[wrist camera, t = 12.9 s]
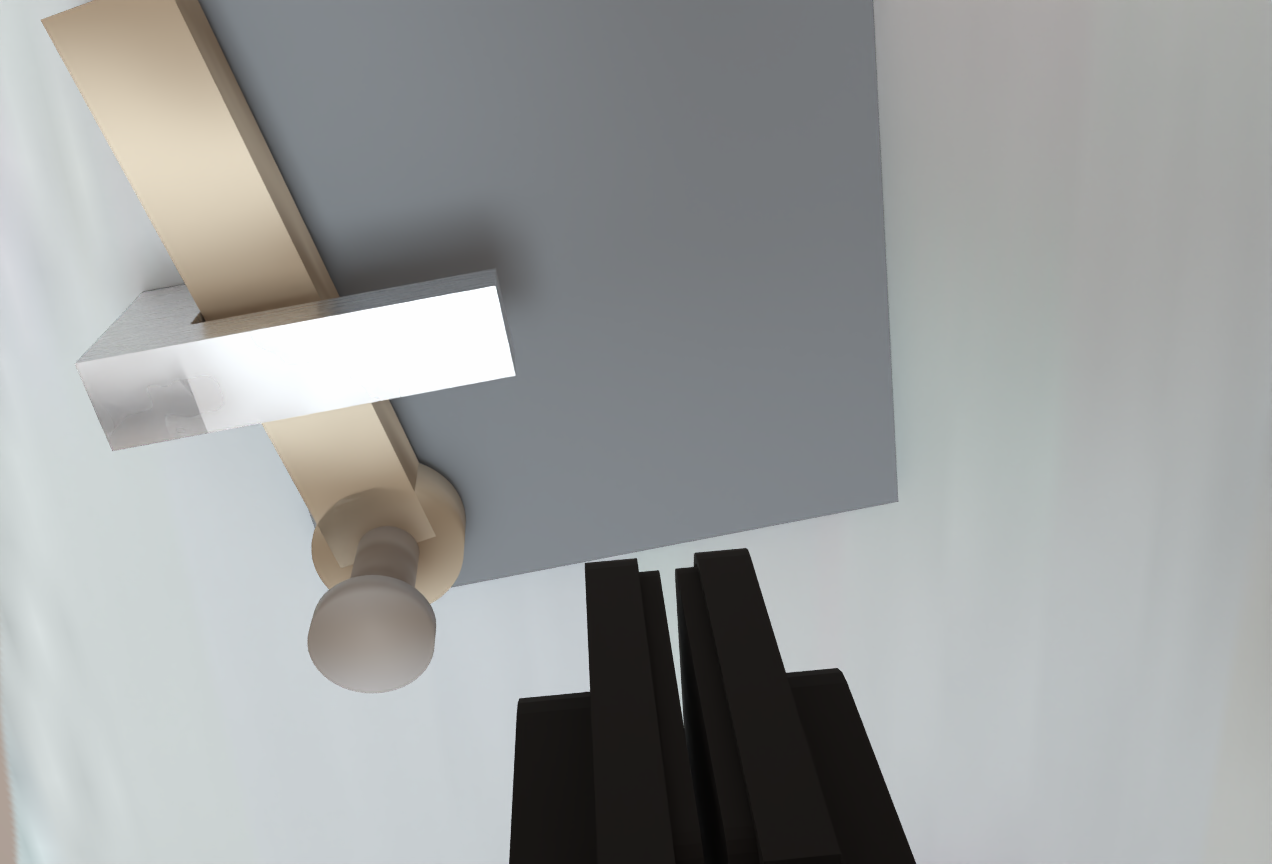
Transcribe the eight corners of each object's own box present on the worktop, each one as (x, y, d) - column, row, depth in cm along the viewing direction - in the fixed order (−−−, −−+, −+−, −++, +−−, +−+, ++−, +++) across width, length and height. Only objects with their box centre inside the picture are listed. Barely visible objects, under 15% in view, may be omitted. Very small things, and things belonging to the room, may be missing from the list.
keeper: (497, 227, 30) (495, 285, 26) (514, 305, 32) (515, 375, 27) (142, 291, 30) (74, 363, 26) (172, 368, 31) (112, 451, 27)
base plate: (853, -190, 27) (863, -193, 26) (890, 489, 36) (898, 501, 35) (121, -63, 26) (111, -62, 26) (346, 594, 35) (342, 608, 35)
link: (486, 554, 34) (482, 680, 28) (357, 597, 34) (328, 730, 29) (210, -39, 26) (129, -24, 20) (42, 22, 26) (-83, 53, 20)
